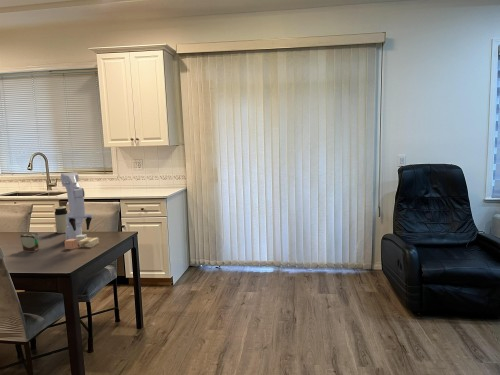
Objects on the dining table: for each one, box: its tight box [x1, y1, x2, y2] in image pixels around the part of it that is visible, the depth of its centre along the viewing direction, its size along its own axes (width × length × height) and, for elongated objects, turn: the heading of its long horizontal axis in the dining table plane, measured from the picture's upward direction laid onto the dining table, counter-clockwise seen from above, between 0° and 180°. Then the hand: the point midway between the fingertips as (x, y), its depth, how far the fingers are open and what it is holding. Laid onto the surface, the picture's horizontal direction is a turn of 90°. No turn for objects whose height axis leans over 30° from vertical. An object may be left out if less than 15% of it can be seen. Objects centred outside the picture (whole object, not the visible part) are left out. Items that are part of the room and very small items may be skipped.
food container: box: [19, 232, 40, 253], centre depth 219 cm, size 12×6×10 cm, turn 71°
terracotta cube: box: [64, 239, 79, 250], centre depth 222 cm, size 5×5×5 cm
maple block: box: [78, 237, 100, 248], centre depth 226 cm, size 8×8×4 cm
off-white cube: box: [76, 233, 88, 245], centre depth 231 cm, size 5×5×5 cm
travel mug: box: [54, 205, 68, 234], centre depth 260 cm, size 8×8×18 cm
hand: (81, 230), depth 224 cm, fingers open, 7 cm apart
